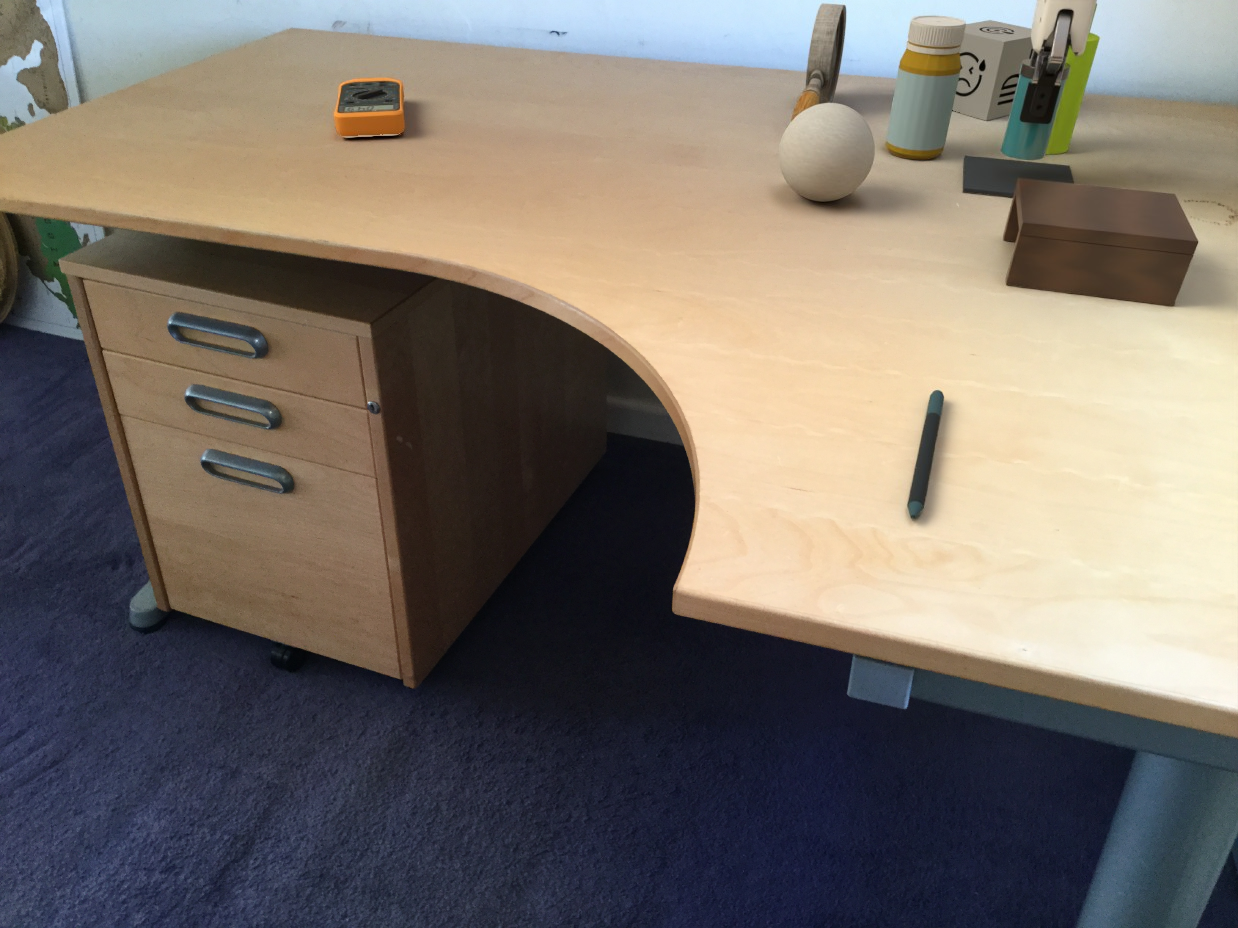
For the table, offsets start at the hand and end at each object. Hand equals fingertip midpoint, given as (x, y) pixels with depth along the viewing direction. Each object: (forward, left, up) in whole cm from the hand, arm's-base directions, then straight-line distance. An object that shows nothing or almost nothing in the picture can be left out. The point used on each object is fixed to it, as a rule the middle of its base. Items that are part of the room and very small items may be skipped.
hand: (1033, 113), depth 104 cm
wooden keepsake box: (-5, +24, -7) cm, 26 cm away
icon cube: (+4, -31, -8) cm, 32 cm away
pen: (+8, +60, -8) cm, 61 cm away
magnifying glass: (+26, -19, -8) cm, 33 cm away
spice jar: (0, 0, -4) cm, 4 cm away
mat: (0, 0, -7) cm, 7 cm away
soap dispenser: (-4, -14, -8) cm, 16 cm away
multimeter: (+82, +2, -8) cm, 82 cm away
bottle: (+12, -7, -8) cm, 16 cm away
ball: (+21, +13, -8) cm, 26 cm away
